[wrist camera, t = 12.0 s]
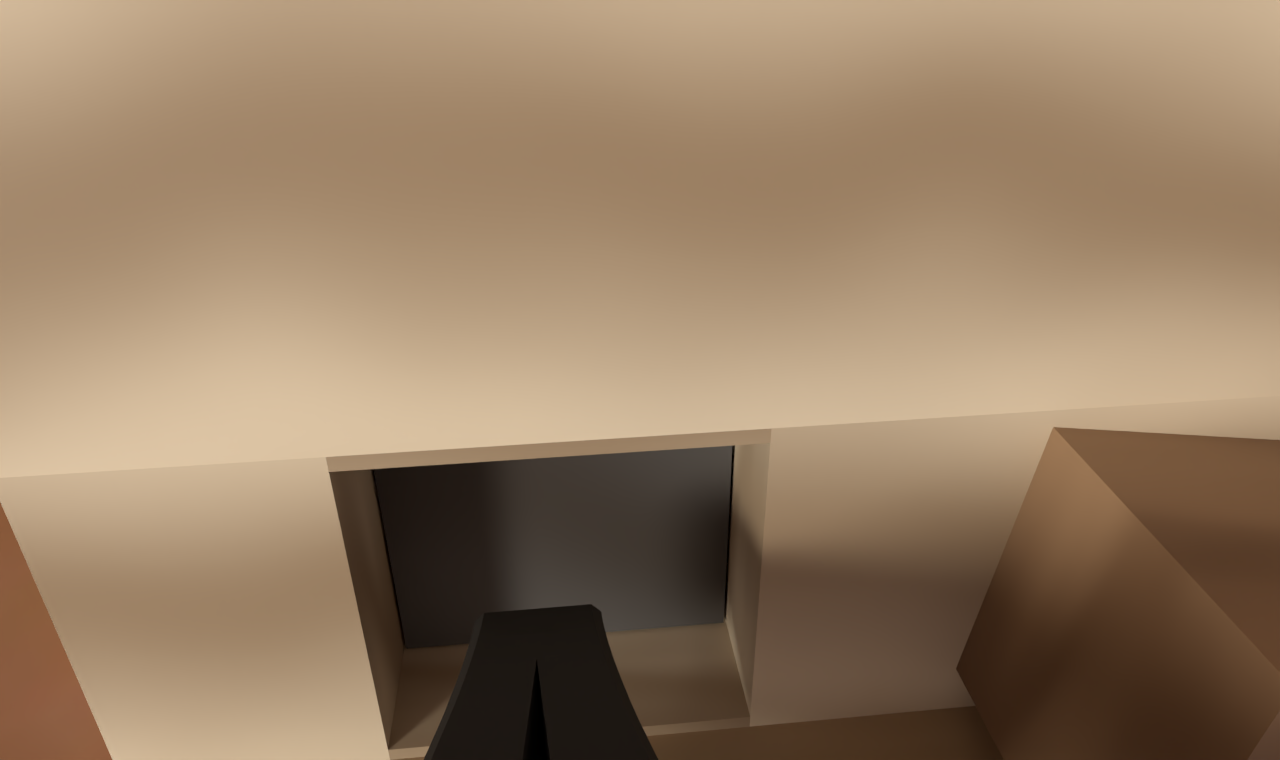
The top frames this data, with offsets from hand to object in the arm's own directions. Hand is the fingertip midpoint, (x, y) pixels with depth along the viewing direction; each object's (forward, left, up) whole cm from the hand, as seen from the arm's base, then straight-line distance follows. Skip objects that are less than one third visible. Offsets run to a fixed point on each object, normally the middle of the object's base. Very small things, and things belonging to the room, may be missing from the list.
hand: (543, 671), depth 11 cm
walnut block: (0, -8, -1) cm, 8 cm away
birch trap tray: (+3, -5, -3) cm, 7 cm away
